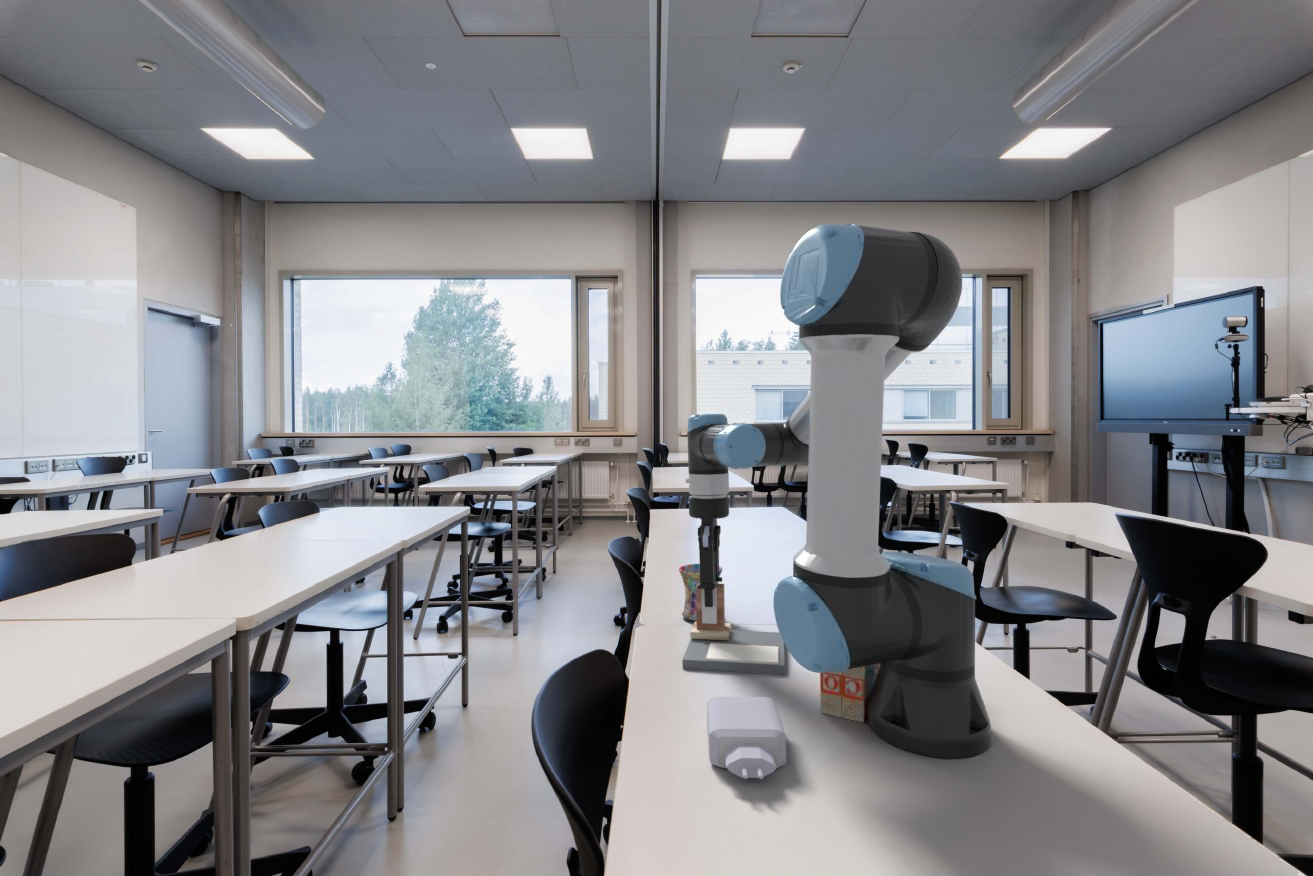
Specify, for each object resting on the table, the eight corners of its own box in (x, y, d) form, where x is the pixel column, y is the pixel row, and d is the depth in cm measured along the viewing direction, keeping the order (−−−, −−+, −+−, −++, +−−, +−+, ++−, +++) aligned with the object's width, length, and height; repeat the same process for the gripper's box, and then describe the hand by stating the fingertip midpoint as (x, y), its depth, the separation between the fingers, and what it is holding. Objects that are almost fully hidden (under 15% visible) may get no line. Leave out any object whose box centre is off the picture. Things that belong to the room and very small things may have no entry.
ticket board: (784, 674, 100) (784, 663, 100) (682, 668, 103) (682, 657, 103) (783, 640, 115) (783, 630, 115) (695, 636, 119) (694, 626, 119)
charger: (711, 799, 67) (707, 731, 82) (795, 800, 67) (775, 731, 82) (711, 756, 67) (706, 696, 82) (795, 757, 67) (775, 697, 82)
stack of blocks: (865, 725, 83) (864, 635, 83) (819, 714, 86) (818, 628, 86) (894, 670, 101) (893, 596, 101) (855, 662, 105) (854, 591, 104)
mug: (726, 623, 126) (725, 573, 126) (681, 625, 125) (680, 574, 125) (718, 606, 138) (717, 560, 138) (677, 608, 137) (676, 561, 137)
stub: (728, 640, 111) (727, 590, 111) (690, 638, 112) (689, 589, 112) (730, 629, 117) (730, 582, 117) (694, 627, 118) (694, 580, 118)
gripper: (694, 491, 123) (696, 606, 123) (682, 501, 107) (684, 633, 107) (732, 491, 121) (733, 608, 122) (724, 501, 105) (727, 635, 106)
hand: (710, 619), depth 115 cm, fingers closed on stub, 3 cm apart
